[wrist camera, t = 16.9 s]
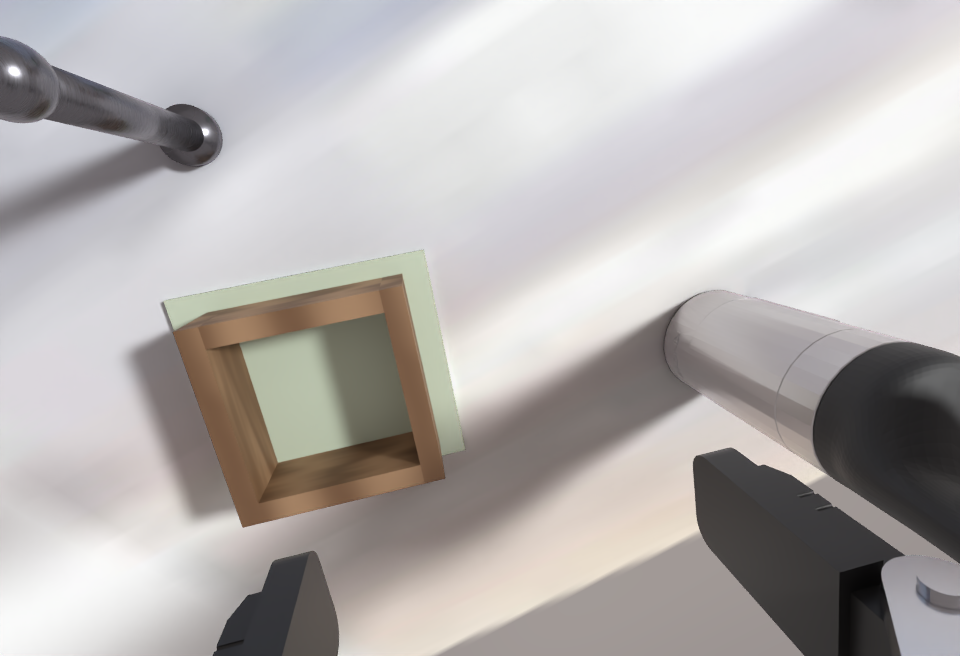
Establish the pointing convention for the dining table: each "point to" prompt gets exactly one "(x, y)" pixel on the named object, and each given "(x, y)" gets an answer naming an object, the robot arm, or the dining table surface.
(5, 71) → the metal dumbbell
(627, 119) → the dining table surface
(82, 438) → the dining table surface
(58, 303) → the dining table surface
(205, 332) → the walnut frame
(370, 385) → the sage mat
